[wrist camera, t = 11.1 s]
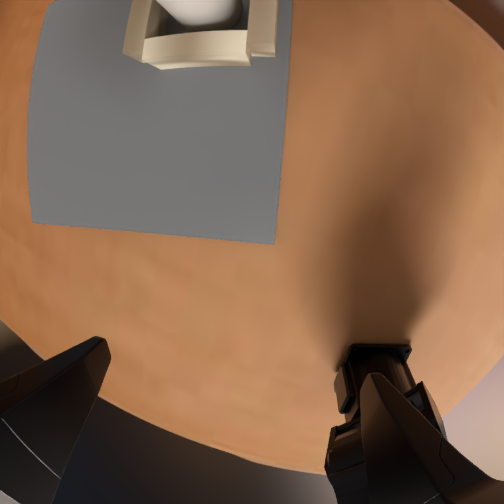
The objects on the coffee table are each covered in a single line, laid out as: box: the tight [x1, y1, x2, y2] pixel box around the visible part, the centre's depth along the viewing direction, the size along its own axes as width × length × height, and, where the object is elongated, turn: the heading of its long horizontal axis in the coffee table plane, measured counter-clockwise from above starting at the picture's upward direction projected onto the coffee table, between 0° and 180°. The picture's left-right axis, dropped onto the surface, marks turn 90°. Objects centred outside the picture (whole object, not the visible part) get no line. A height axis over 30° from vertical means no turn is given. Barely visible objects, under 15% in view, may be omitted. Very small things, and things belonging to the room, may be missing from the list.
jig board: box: [27, 0, 293, 245], centre depth 16 cm, size 23×23×1 cm
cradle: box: [122, 0, 279, 70], centre depth 12 cm, size 9×9×3 cm
